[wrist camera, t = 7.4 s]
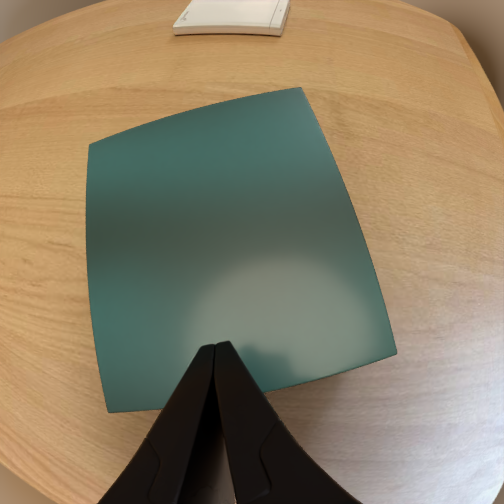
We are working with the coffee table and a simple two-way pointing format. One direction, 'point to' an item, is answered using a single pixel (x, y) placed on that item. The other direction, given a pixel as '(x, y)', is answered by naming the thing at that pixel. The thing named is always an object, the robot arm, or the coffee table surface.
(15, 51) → the coffee table surface
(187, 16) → the hard drive
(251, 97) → the lid
